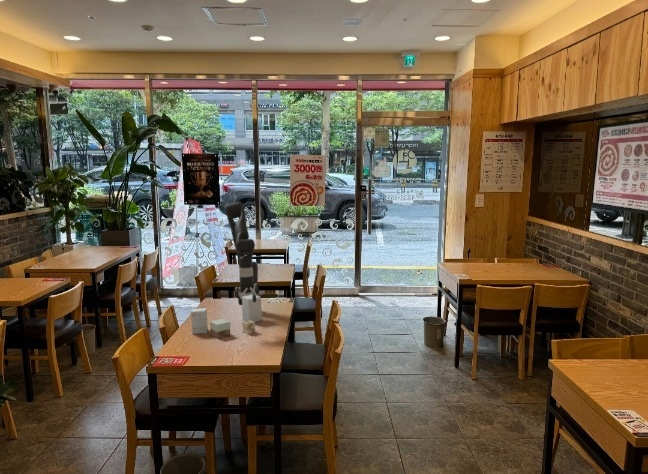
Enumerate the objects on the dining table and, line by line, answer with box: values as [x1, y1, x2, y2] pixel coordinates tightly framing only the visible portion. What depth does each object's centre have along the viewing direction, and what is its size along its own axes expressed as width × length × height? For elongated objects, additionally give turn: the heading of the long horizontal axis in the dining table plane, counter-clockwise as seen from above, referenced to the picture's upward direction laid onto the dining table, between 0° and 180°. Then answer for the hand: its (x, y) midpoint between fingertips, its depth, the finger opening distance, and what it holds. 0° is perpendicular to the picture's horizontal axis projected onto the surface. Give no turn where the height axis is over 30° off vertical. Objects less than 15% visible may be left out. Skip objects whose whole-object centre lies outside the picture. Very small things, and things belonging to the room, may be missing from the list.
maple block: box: [242, 320, 256, 336], centre depth 255 cm, size 5×5×6 cm
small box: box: [190, 307, 209, 335], centre depth 257 cm, size 8×6×13 cm
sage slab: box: [209, 318, 231, 332], centre depth 251 cm, size 8×8×4 cm
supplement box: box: [241, 295, 263, 323], centre depth 277 cm, size 9×9×15 cm
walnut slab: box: [209, 327, 231, 339], centre depth 252 cm, size 8×8×4 cm
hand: (247, 303), depth 253 cm, fingers open, 8 cm apart
